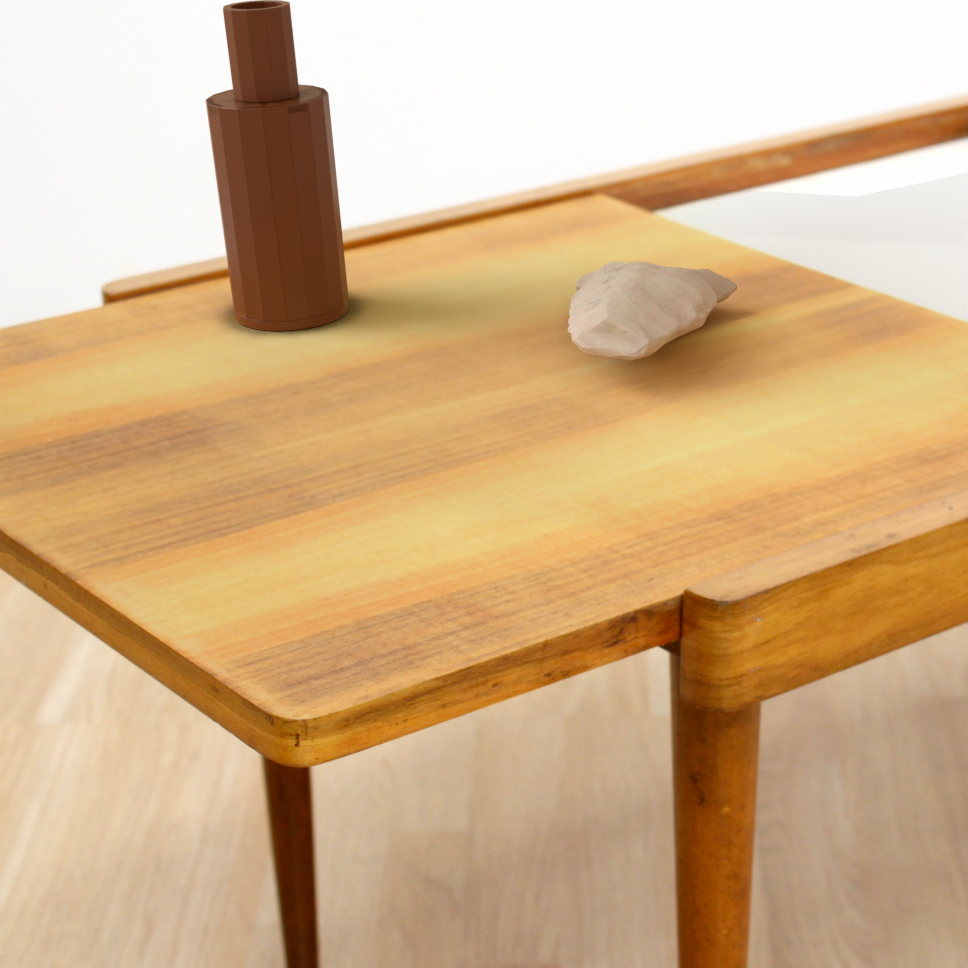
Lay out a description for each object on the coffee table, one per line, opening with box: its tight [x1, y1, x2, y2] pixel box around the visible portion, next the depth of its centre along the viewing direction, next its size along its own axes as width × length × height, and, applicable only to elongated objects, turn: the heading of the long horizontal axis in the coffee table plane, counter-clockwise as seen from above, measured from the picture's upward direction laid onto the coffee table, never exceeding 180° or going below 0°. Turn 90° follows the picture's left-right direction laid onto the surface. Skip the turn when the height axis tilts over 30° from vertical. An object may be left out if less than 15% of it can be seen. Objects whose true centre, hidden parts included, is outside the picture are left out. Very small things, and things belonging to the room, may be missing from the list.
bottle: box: [205, 0, 350, 332], centre depth 91 cm, size 7×7×18 cm
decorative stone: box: [567, 261, 738, 361], centre depth 86 cm, size 10×4×15 cm
